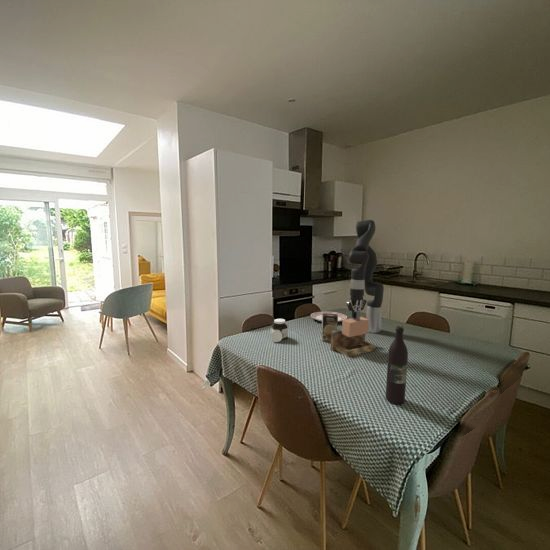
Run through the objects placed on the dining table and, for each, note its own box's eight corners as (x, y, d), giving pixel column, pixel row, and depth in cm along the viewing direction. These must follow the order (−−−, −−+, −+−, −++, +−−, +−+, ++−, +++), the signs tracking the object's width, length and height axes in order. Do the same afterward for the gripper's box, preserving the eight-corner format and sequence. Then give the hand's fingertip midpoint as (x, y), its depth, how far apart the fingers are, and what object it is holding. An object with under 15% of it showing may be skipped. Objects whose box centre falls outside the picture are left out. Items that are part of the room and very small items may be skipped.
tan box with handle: (360, 330, 172) (361, 308, 170) (368, 333, 166) (369, 310, 165) (341, 333, 165) (342, 311, 163) (349, 337, 160) (350, 313, 158)
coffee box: (321, 341, 180) (322, 315, 178) (321, 337, 186) (321, 313, 184) (337, 342, 179) (337, 316, 177) (335, 338, 185) (336, 313, 183)
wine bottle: (385, 402, 115) (390, 329, 111) (385, 393, 122) (389, 323, 118) (405, 406, 113) (410, 331, 109) (404, 397, 119) (409, 325, 115)
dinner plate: (309, 314, 240) (309, 310, 239) (343, 314, 239) (343, 310, 238) (312, 325, 213) (312, 320, 212) (350, 325, 212) (350, 321, 211)
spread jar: (284, 335, 190) (285, 317, 189) (291, 341, 180) (291, 322, 178) (267, 337, 187) (267, 319, 185) (272, 343, 176) (272, 324, 174)
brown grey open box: (361, 342, 178) (362, 324, 177) (377, 349, 168) (378, 331, 166) (330, 349, 167) (330, 331, 166) (344, 357, 157) (345, 337, 155)
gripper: (361, 285, 169) (360, 314, 171) (342, 287, 162) (341, 317, 165) (371, 287, 162) (369, 318, 164) (352, 289, 156) (350, 321, 158)
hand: (355, 317), depth 165 cm, fingers closed on tan box with handle
